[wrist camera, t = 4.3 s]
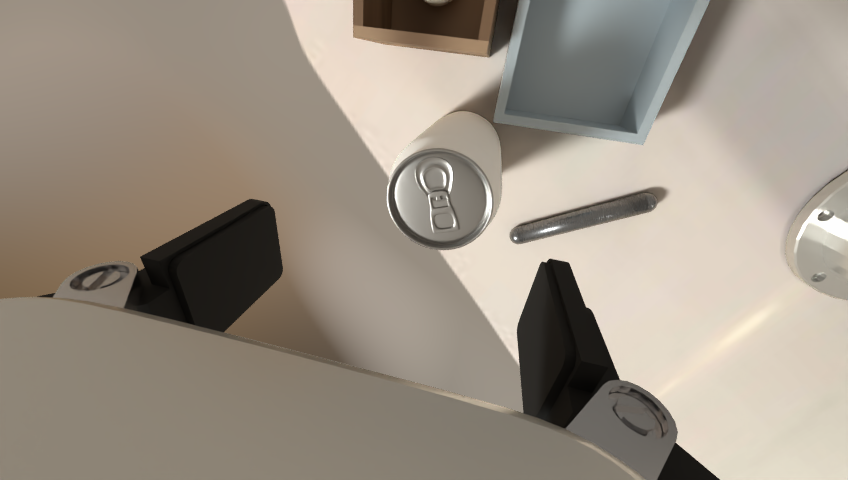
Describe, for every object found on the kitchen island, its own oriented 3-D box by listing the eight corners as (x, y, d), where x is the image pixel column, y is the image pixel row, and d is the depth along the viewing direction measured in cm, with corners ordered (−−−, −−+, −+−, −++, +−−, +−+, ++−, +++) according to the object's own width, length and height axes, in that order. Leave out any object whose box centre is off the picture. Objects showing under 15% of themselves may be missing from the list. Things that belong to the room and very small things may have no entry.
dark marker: (651, 187, 25) (660, 194, 23) (653, 204, 25) (662, 212, 24) (507, 226, 29) (507, 234, 27) (512, 240, 29) (512, 249, 28)
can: (495, 101, 24) (493, 125, 14) (505, 181, 27) (509, 251, 16) (416, 120, 26) (362, 153, 15) (433, 192, 28) (397, 261, 18)
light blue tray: (691, -33, 18) (736, -56, 15) (621, 133, 23) (643, 145, 20) (528, -46, 19) (534, -71, 16) (493, 114, 24) (493, 122, 21)
